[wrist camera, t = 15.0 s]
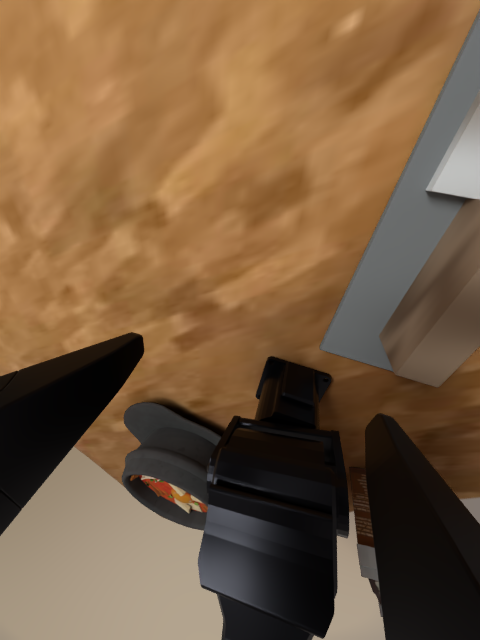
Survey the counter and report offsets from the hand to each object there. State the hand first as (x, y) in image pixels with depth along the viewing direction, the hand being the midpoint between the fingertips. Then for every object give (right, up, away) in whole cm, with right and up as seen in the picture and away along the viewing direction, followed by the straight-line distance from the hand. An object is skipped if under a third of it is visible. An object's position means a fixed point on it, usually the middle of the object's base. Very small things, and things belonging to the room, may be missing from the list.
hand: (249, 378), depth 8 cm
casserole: (-7, -18, +29) cm, 35 cm away
